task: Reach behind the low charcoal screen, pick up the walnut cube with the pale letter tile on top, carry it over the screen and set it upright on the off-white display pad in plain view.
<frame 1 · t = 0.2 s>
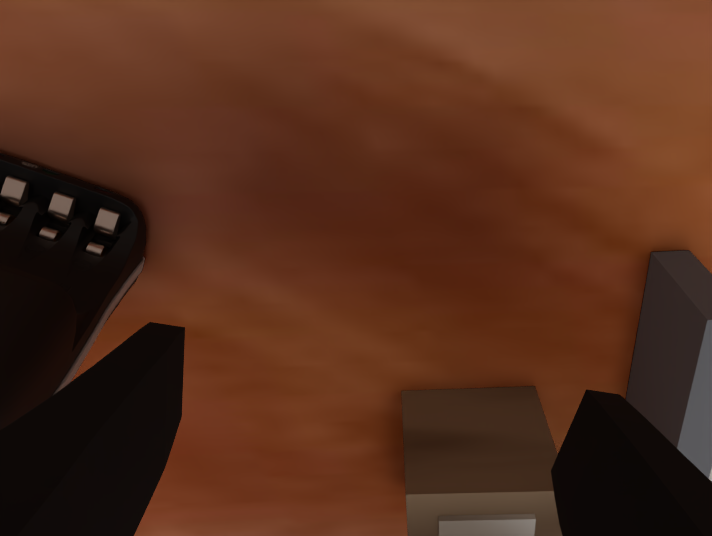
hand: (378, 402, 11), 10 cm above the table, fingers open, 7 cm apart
screen: (635, 433, 24), on the table
letter cube: (466, 436, 25), on the table
battery charger: (55, 197, 20), on the table
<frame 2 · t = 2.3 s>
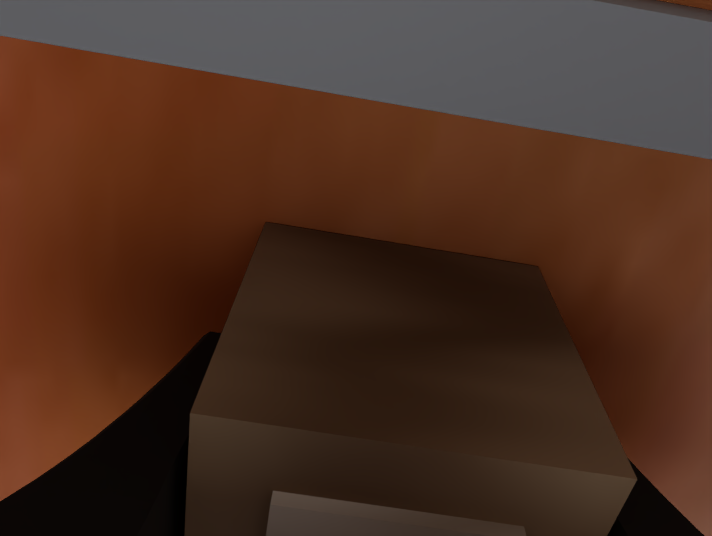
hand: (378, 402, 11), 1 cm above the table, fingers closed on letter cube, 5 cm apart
screen: (456, 9, 9), on the table
letter cube: (378, 354, 12), on the table, touching gripper
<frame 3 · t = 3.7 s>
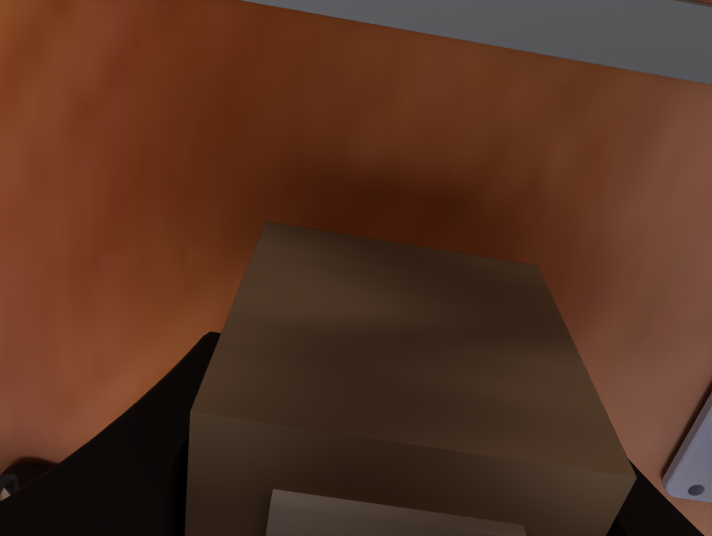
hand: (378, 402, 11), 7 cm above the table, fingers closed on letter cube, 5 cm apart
letter cube: (378, 354, 12), point 5 cm above the table, touching gripper
battery charger: (23, 507, 23), on the table
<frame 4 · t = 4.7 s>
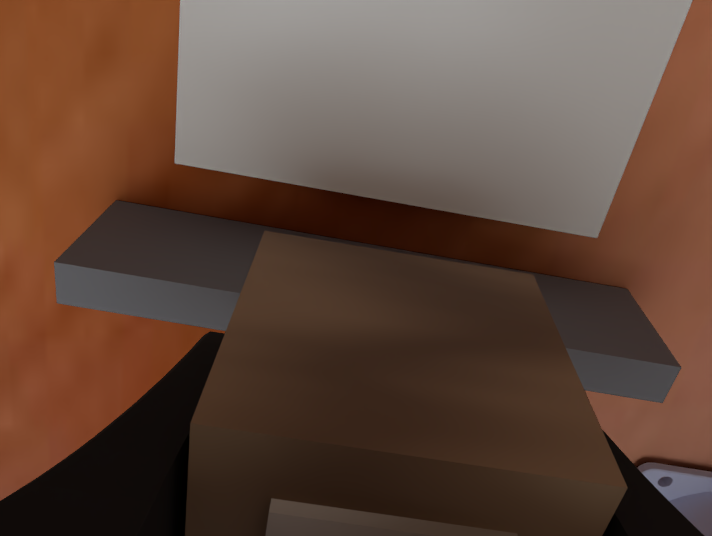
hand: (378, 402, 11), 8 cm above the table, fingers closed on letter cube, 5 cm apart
display pad: (427, 7, 16), on the table
screen: (373, 262, 19), on the table
letter cube: (375, 361, 13), point 7 cm above the table, touching gripper
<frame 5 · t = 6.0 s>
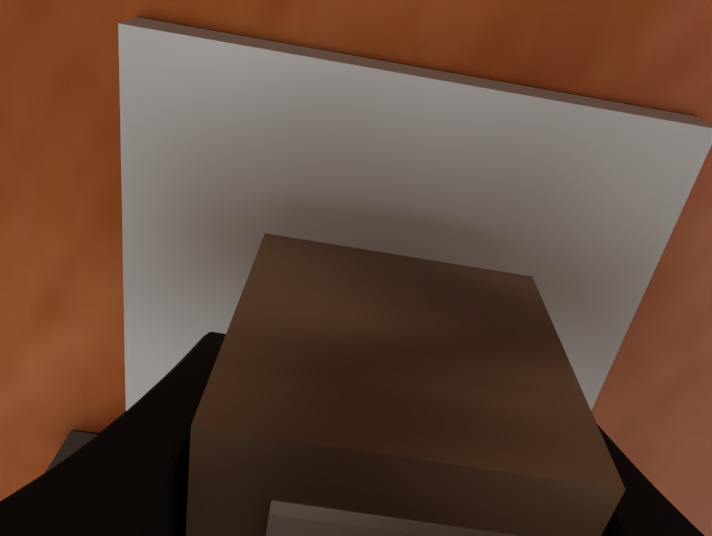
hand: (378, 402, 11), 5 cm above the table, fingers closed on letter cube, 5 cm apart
display pad: (379, 272, 15), on the table
screen: (335, 483, 19), on the table
letter cube: (375, 362, 13), point 3 cm above the table, touching gripper
when the fingers open (4 cm above the table, at t = 7.2 s): letter cube drops 1 cm, resting on display pad.
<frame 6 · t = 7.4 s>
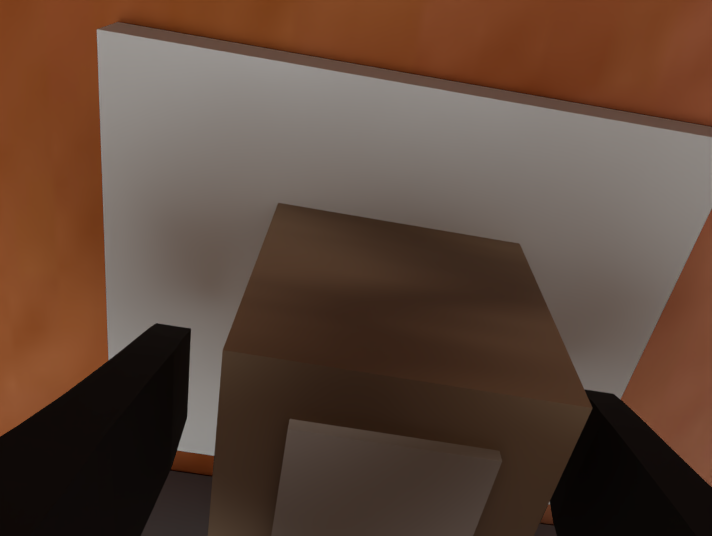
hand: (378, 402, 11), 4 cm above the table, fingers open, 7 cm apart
display pad: (378, 291, 15), on the table
screen: (332, 508, 18), on the table
letter cube: (377, 324, 14), point 1 cm above the table, touching display pad
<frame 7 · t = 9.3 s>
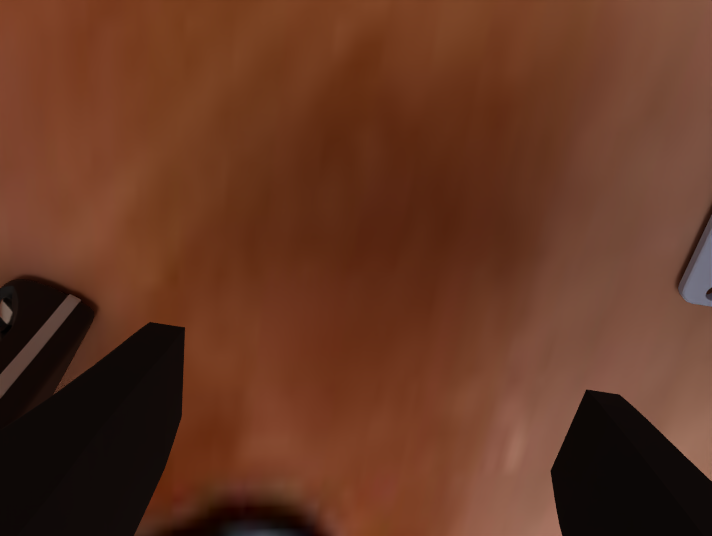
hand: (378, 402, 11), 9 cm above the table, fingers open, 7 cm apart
battery charger: (22, 339, 23), on the table
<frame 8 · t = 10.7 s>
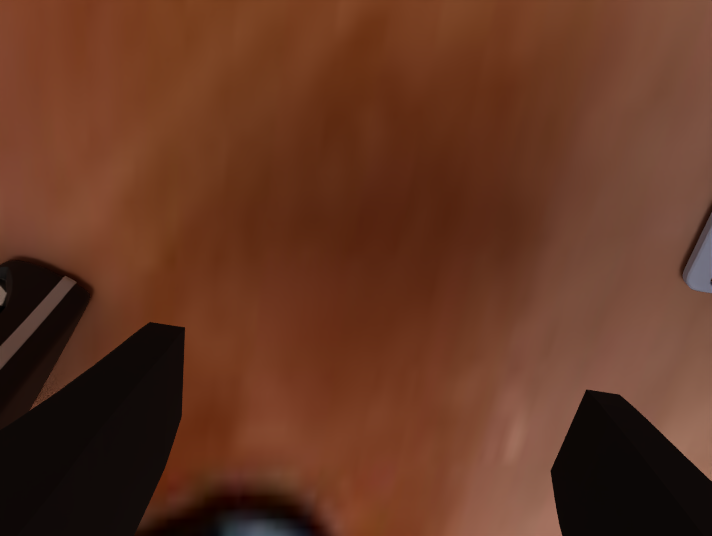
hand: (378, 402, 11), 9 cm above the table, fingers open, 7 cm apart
battery charger: (16, 322, 22), on the table
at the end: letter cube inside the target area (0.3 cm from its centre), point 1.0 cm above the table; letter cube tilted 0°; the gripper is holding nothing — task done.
